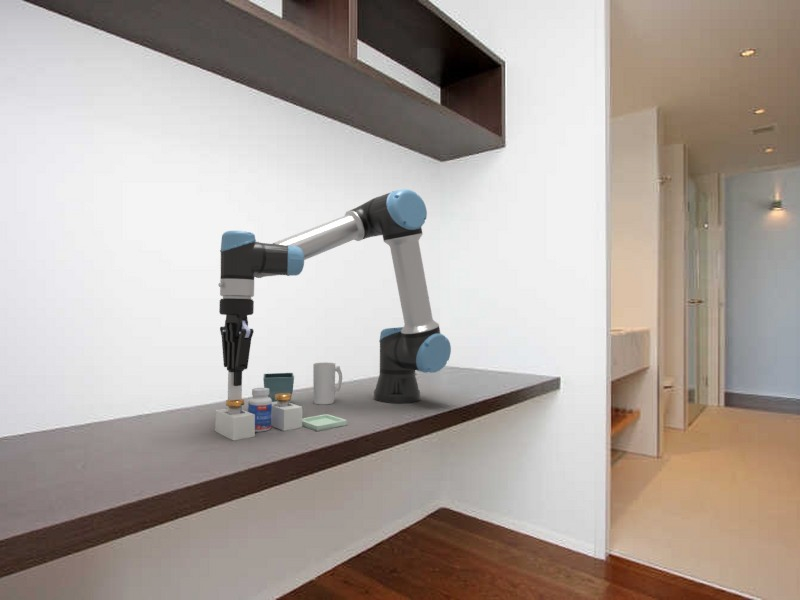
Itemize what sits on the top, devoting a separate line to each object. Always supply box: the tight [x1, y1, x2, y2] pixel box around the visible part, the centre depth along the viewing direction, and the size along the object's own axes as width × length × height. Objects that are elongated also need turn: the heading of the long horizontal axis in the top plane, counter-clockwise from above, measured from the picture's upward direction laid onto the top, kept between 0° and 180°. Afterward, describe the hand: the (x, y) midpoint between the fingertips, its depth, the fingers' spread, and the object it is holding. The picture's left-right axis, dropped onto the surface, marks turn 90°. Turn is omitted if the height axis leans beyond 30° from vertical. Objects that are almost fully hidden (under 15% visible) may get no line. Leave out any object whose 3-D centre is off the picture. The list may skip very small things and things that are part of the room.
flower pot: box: [263, 372, 295, 402], centre depth 141 cm, size 9×9×9 cm
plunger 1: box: [225, 398, 245, 415], centre depth 109 cm, size 4×4×7 cm
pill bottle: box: [247, 387, 272, 433], centre depth 113 cm, size 6×5×10 cm
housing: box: [214, 401, 304, 441], centre depth 113 cm, size 18×10×5 cm, turn 133°
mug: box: [312, 362, 343, 405], centre depth 146 cm, size 10×7×12 cm, turn 132°
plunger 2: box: [275, 393, 293, 407], centre depth 117 cm, size 4×4×7 cm
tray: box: [302, 413, 348, 432], centre depth 118 cm, size 9×9×1 cm
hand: (234, 399), depth 109 cm, fingers closed
